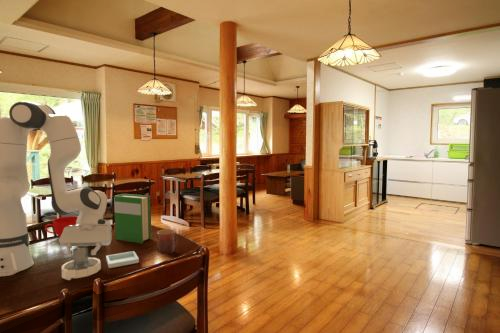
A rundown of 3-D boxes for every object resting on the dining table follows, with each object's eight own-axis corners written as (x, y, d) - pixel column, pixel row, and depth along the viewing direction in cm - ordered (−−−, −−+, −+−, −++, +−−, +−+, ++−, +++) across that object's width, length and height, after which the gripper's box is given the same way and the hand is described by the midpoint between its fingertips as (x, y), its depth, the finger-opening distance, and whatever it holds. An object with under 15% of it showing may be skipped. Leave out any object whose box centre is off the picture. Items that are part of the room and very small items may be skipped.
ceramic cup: (42, 238, 173) (41, 220, 172) (76, 231, 185) (75, 215, 184) (49, 244, 164) (47, 225, 163) (83, 236, 176) (83, 219, 175)
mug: (179, 252, 152) (179, 231, 151) (163, 257, 146) (162, 235, 145) (166, 246, 161) (165, 226, 160) (150, 250, 154) (149, 230, 154)
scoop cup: (74, 274, 126) (73, 251, 125) (74, 269, 130) (73, 247, 129) (88, 271, 128) (87, 248, 127) (88, 266, 133) (87, 245, 132)
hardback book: (151, 239, 172) (149, 195, 170) (141, 243, 165) (140, 198, 163) (125, 235, 178) (124, 193, 176) (115, 239, 171) (114, 195, 169)
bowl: (61, 283, 120) (61, 274, 120) (62, 269, 132) (61, 261, 132) (102, 275, 127) (101, 266, 126) (99, 263, 139) (98, 255, 139)
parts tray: (109, 269, 132) (108, 264, 132) (106, 261, 141) (106, 255, 141) (138, 264, 138) (138, 258, 138) (134, 256, 147) (134, 250, 147)
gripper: (62, 221, 134) (51, 252, 126) (111, 220, 136) (104, 250, 127) (68, 228, 139) (57, 258, 130) (115, 228, 141) (108, 257, 132)
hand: (81, 254), depth 129 cm, fingers open, 8 cm apart
